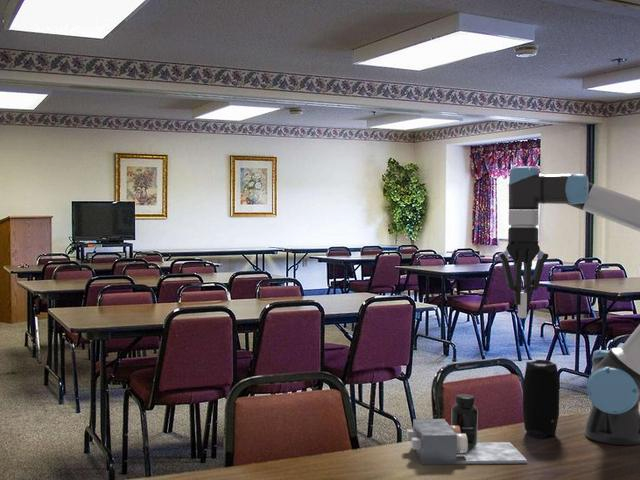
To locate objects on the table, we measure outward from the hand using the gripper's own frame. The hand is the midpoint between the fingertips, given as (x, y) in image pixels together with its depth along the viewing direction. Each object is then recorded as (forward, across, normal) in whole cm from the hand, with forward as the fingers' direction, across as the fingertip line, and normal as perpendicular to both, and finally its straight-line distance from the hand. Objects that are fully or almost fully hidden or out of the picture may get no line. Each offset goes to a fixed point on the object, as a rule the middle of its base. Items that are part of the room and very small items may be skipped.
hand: (522, 317), depth 198 cm
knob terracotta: (+31, +25, +8) cm, 40 cm away
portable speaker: (+33, -7, -5) cm, 34 cm away
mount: (+32, +17, +11) cm, 38 cm away
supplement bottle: (+33, +15, 0) cm, 36 cm away
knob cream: (+31, +24, +14) cm, 42 cm away
